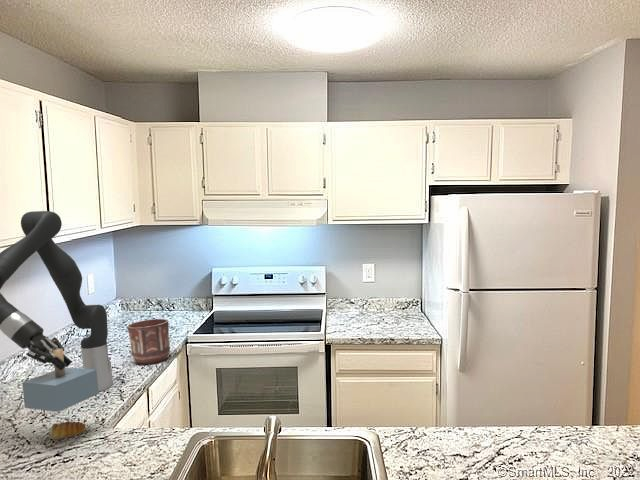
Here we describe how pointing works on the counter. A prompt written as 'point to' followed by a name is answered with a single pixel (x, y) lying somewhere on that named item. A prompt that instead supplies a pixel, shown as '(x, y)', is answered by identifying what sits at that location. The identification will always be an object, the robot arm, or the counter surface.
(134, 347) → the pottery
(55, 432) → the pastry
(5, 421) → the counter surface
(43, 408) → the cover
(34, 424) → the counter surface
